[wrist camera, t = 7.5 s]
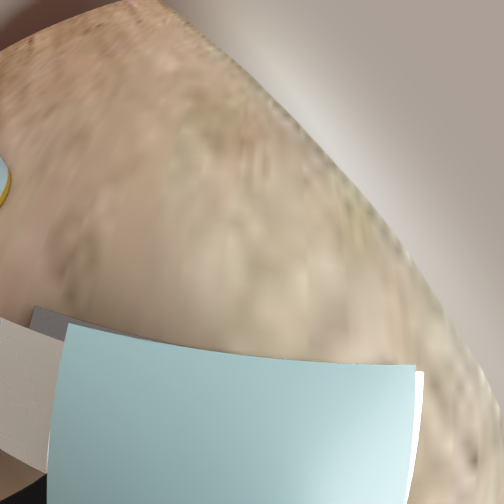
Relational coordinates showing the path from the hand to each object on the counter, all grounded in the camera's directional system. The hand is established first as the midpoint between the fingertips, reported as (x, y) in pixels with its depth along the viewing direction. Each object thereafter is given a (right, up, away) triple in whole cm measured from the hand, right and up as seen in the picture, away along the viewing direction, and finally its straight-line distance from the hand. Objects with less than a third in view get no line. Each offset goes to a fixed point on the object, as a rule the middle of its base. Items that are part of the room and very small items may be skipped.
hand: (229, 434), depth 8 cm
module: (-1, -4, +6) cm, 7 cm away
